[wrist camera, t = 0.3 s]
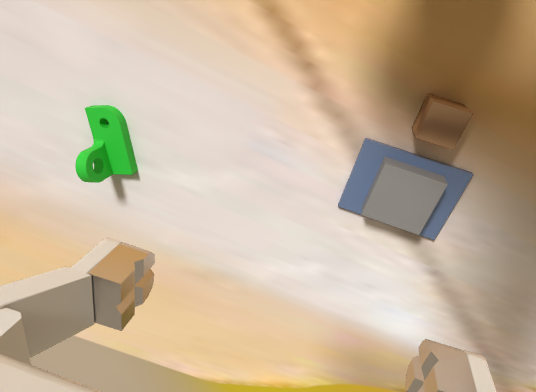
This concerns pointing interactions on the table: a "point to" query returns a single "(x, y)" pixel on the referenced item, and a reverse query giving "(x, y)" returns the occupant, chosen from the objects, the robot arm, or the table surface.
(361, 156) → the base
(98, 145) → the mechanical part
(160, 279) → the table surface
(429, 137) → the walnut cube
